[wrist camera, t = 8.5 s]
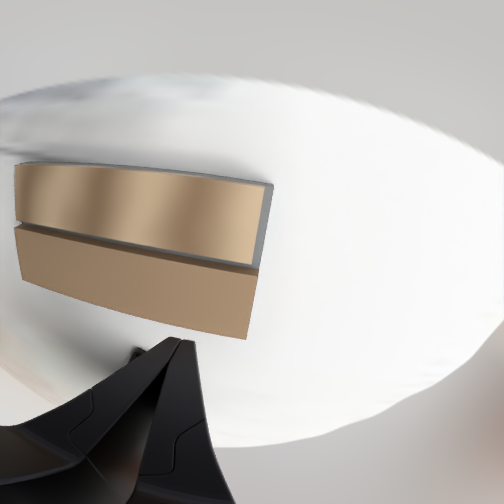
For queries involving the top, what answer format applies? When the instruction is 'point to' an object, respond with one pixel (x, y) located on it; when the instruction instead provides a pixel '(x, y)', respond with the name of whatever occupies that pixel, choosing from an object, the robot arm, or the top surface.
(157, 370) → the robot arm
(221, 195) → the plank
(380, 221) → the top surface
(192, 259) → the floor panel
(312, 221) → the top surface
